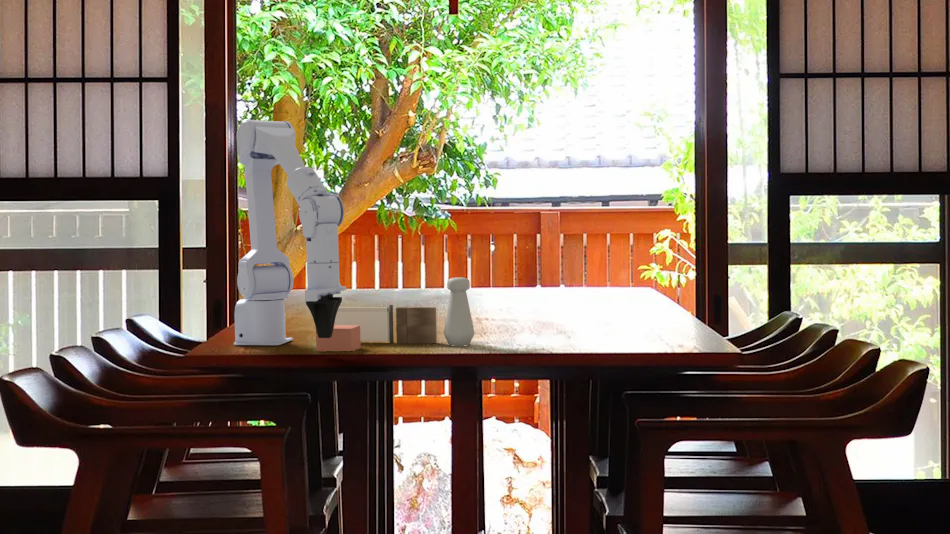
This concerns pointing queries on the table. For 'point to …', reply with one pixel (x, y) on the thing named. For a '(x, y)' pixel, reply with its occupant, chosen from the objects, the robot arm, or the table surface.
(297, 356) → the table surface
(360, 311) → the door
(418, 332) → the frame
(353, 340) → the block
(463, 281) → the salt shaker
